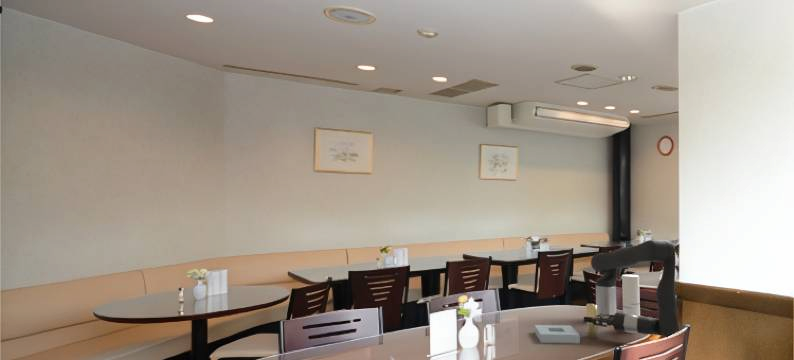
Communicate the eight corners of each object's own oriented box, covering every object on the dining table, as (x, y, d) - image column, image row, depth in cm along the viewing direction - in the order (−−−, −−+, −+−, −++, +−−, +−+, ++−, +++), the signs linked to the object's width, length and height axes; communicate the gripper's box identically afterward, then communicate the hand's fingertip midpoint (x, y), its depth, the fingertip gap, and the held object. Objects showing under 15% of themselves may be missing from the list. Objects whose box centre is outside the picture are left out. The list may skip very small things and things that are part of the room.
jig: (534, 332, 231) (534, 324, 231) (570, 333, 229) (570, 325, 229) (540, 342, 215) (540, 334, 215) (579, 343, 213) (579, 335, 213)
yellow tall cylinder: (585, 335, 226) (585, 303, 226) (596, 335, 225) (595, 303, 226) (588, 338, 221) (587, 305, 222) (599, 338, 221) (598, 305, 221)
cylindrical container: (642, 332, 230) (640, 277, 230) (625, 331, 231) (624, 276, 232) (638, 328, 237) (636, 274, 237) (621, 327, 238) (620, 274, 239)
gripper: (630, 310, 221) (590, 306, 231) (622, 317, 209) (581, 312, 219) (630, 328, 221) (590, 322, 231) (623, 335, 209) (581, 329, 219)
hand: (586, 317), depth 225 cm, fingers open, 6 cm apart
